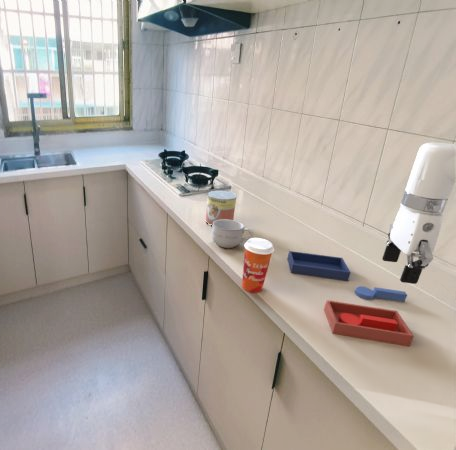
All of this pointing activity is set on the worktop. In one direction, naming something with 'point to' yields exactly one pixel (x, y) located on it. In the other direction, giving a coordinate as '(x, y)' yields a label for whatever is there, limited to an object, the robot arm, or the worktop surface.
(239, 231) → the teacup
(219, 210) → the canned food
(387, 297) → the blue spoon
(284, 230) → the worktop surface
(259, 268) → the paper cup
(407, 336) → the red tray
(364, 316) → the red spoon
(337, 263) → the blue tray
